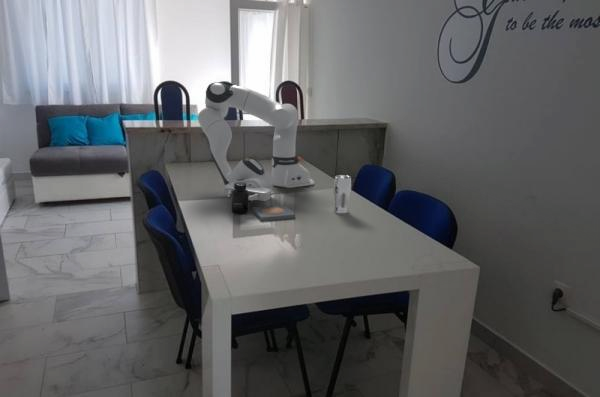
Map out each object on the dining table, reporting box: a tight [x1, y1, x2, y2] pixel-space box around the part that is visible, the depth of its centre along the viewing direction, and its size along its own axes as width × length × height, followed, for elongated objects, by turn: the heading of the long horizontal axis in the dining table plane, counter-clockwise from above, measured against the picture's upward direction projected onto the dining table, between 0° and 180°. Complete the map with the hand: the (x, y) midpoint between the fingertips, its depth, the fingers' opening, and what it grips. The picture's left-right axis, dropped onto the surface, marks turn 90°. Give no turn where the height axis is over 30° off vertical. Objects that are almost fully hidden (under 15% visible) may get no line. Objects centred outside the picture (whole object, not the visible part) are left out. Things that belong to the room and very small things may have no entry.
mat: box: [251, 204, 296, 222], centre depth 189 cm, size 14×13×2 cm
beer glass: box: [333, 174, 352, 215], centre depth 193 cm, size 7×7×15 cm
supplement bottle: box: [230, 182, 249, 215], centre depth 189 cm, size 7×7×12 cm
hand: (239, 197), depth 189 cm, fingers open, 8 cm apart
